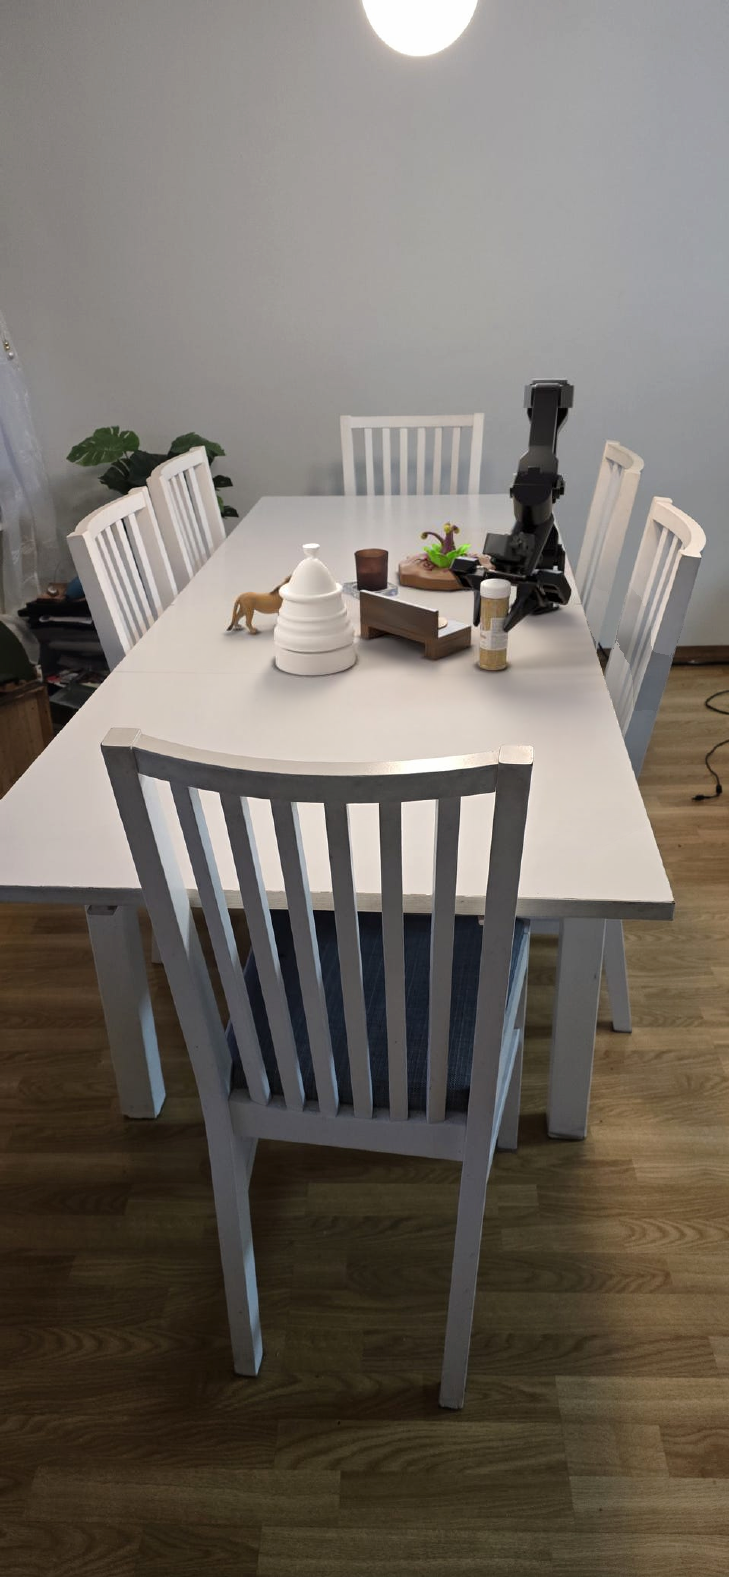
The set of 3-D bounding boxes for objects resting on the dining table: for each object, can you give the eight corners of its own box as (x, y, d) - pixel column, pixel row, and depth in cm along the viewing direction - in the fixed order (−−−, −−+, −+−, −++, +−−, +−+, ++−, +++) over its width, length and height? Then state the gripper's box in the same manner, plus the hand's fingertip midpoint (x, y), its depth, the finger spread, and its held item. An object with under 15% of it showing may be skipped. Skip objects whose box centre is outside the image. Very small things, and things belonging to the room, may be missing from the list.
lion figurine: (303, 618, 178) (300, 569, 174) (312, 627, 174) (309, 577, 170) (223, 629, 174) (218, 579, 170) (230, 638, 170) (225, 587, 165)
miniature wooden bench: (397, 624, 174) (396, 579, 171) (471, 645, 163) (472, 598, 160) (360, 636, 169) (359, 590, 165) (434, 660, 158) (434, 611, 154)
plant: (390, 589, 193) (389, 531, 188) (404, 562, 210) (403, 509, 205) (493, 592, 190) (496, 533, 184) (499, 564, 207) (501, 510, 201)
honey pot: (280, 647, 165) (272, 539, 157) (357, 646, 165) (354, 538, 156) (271, 675, 154) (262, 560, 145) (353, 674, 153) (350, 559, 145)
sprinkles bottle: (474, 662, 157) (476, 579, 150) (502, 660, 157) (505, 576, 151) (482, 672, 153) (485, 587, 146) (511, 670, 153) (515, 585, 147)
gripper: (456, 504, 152) (417, 592, 149) (569, 517, 142) (530, 612, 139) (480, 544, 161) (444, 628, 158) (587, 558, 151) (551, 648, 149)
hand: (489, 628), depth 151 cm, fingers open, 5 cm apart
